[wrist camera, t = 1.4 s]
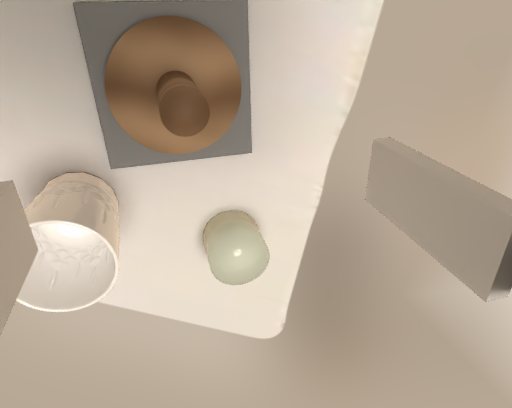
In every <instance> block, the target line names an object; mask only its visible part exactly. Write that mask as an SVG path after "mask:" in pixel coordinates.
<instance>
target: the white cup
mask: <svg viewBox="0 0 512 408" xmlns="http://www.w3.org/2000/svg"><path fill="white" fill-rule="evenodd" d="M118 209H119V203H118V200H117V198H116V195H115V193H114V191H113V189H112V188H111V187H110V186H109V185H107V184H106V183H105V182H104V181H103V180H102V179H101V178H98V177H95V176H92V175H89V174H86V173H83V172H82V173H64V174H62V175H60V176H58V177H56V178H54V179H52V180H50V181H49V182H48V183H47V185H46V186H45V187H44V189H43V190H42V191H41V193H40V194H38V195H37V196H36V197H35V198H34V199H33V201H32V202H31V203H30V204H29V205H28V207H27V208H26V209H25V210H24V212H25V215H26V218H27V220H28V223H29V226H30V229H31V231H32V234H33V237H34V239H35V242H36V245H37V247H38V252H37V255H36V257H35V259H34V261H33V264H32V266H31V268H30V270H29V273H28V275H27V277H26V279H25V282H24V284H23V286H22V288H21V290H20V293H19V295H18V297H17V299H16V301H17V302H19V303H21V304H23V305H25V306H28V307H30V308H34V309H37V310H42V311H49V312H66V311H73V310H78V309H81V308H85V307H87V306H90V305H92V304H94V303H96V302H97V301H99V300H100V299H102V298H103V297H104V296H105V295H106V294H107V293H108V292H109V291H110V290H111V289H112V287H113V286H114V284H115V282H116V280H117V277H118V272H119V244H120V230H119V215H118Z"/></svg>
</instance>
